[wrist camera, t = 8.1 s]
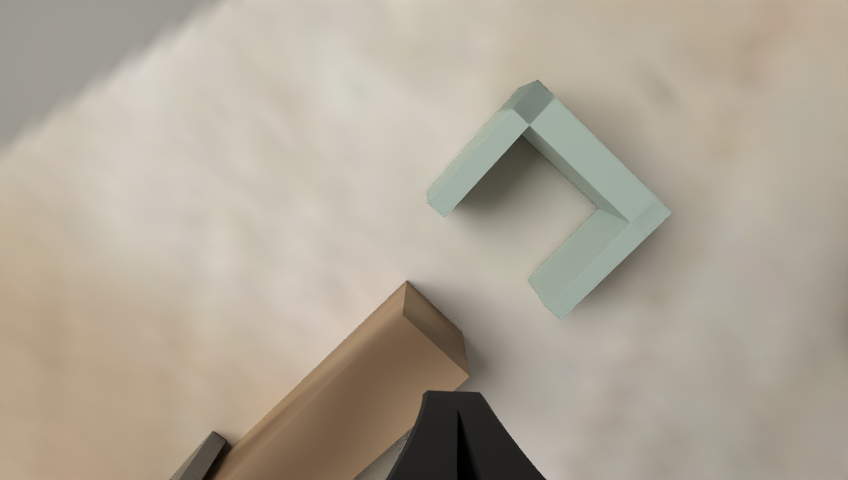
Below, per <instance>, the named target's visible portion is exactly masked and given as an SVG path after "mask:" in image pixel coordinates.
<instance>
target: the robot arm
mask: <svg viewBox="0 0 848 480" xmlns="http://www.w3.org/2000/svg"><path fill="white" fill-rule="evenodd" d="M386 480H546V479H545V478H544V477H543V475H542V474H541V473H540V472H539V471H538V470H537V469H536V467H535V466H534V465H533V464H532V463H531V461H530V460H529V459H528V458H527V457H526V455H525V454H524V453H523V452H522V450H521V449H520V448H519V446H518V445H517V444H516V443H515V441H514V440H513V439H512V437H511V436H510V435H509V433H508V432H507V431H506V429H505V428H504V427H503V425H502V424H501V422H500V421H499V419H498V418H497V417H496V415H495V414H494V412H493V411H492V409H491V408H490V406H489V405H488V403H487V401H486V400H485V398H484V397H483V396H482V395H481V393H480V392H457V391H434V390H427V391H426V392H425V393H424V394H423V397H422V403H421V408H420V411H419V414H418V417H417V419H416V422H415V425H414V427H413V429H412V431H411V433H410V436H409V438H408V440H407V442H406V444H405V446H404V448H403V450H402V452H401V454H400V456H399V457H398V459H397V461H396V463H395V464H394V466H393V468H392V470H391V472H390V473H389V475H388V477H387V478H386Z"/></svg>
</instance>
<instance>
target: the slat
mask: <svg viewBox="0 0 848 480" xmlns="http://www.w3.org/2000/svg"><path fill="white" fill-rule="evenodd" d="M469 377H470V374H469V368H468V363H467V357H466V352H465V346H464V341H463V335H462V332H461V331H460V330H459V329H458V328H457V327H456V326H455V325H454V324H453V323H452V322H451V321H450V320H448V319H447V318H446V317H445V316H444V315H443V314H442V313H441V312H440V311H439V310H438V309H437V308H436V307H435V306H434V305H432V304H431V303H430V302H429V301H428V300H427V299H426V298H425V297H424V296H423V295H422V294H421V293H420V292H419V291H417V290H416V289H415V288H414V287H413V286H412V285H411V284H410V283H409V282H408V281H407V280H406V281H405V282H404V283H403V284H402V285H401V286H400V287H399V288H398V289H397V290H396V291H395V292H394V293H393V294H392V295H391V296H390V297H389V298H388V299H387V300H386V301H385V302H384V303H383V304H381V305H380V306H379V307H378V308H377V309H376V310H375V311H374V312H373V313H372V314H371V315H370V316H369V317H368V318H367V319H366V320H365V321H364V322H363V323H362V324H361V325H360V326H359V327H358V328H356V329H355V330H354V331H353V332H352V333H351V334H350V335H349V336H348V337H347V338H346V339H345V340H344V341H343V342H342V343H341V344H340V345H339V346H338V347H337V348H336V349H335V350H334V351H333V352H331V353H330V354H329V355H328V356H327V357H326V358H325V359H324V360H323V361H322V362H321V363H320V364H319V365H318V366H317V367H316V368H315V369H314V370H313V371H312V372H311V373H310V374H309V375H308V376H306V377H305V378H304V379H303V380H302V381H301V382H300V383H299V384H298V385H297V386H296V387H295V388H294V389H293V390H292V391H291V392H290V393H289V394H288V395H287V396H286V397H285V398H284V399H283V400H281V401H280V402H279V403H278V404H277V405H276V406H275V407H274V408H273V409H272V410H271V411H270V412H269V413H268V414H267V415H266V416H265V417H264V418H263V419H262V420H261V421H260V422H259V423H258V424H257V425H255V426H254V427H253V428H252V429H251V430H250V431H249V432H248V433H247V434H246V435H245V436H244V437H243V438H242V439H241V440H240V441H239V442H238V443H237V444H236V445H235V446H234V447H233V448H232V449H230V450H229V451H228V452H227V453H226V454H225V455H224V456H223V457H222V458H221V459H220V460H219V461H218V462H217V463H216V464H215V465H214V466H213V467H212V468H211V469H210V470H209V471H208V472H207V474H206V475H205V477H204V478H203V480H353V479H354V478H355V477H356V476H357V475H358V474H359V473H361V472H362V471H363V470H364V469H365V468H366V467H367V466H369V465H370V464H371V463H372V462H373V461H374V460H375V459H377V458H378V457H379V456H380V455H381V454H382V453H383V452H385V451H386V450H387V449H388V448H389V447H390V446H391V445H393V444H394V443H395V442H396V441H397V440H398V439H399V438H401V437H402V436H403V435H404V434H405V433H406V432H407V431H409V430H410V429H411V428H412V427H413V426H414V425H415V422H416V419H417V417H418V414H419V411H420V408H421V403H422V397H423V394H424V393H425V392H426V391H427V390H434V391H454V390H455V389H456V388H458V387H459V386H460V385H461V384H462V383H463V382H464V381H466V380H467V379H468V378H469Z"/></svg>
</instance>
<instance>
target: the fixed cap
mask: <svg viewBox="0 0 848 480" xmlns="http://www.w3.org/2000/svg"><path fill="white" fill-rule="evenodd" d="M225 442H226V440H224V439H223V438H221V437H220V436H218V435H217V434H216V433H214V432H213V431H212V433H211V434H210V435H209V436H208V437H207V438H206V439H205V440H204V441H203V443H202V444H201V445H200V446H199V447H198V448H197V449H196V450H195V452H194V453H193V454H192V455H191V456H190V457H189V458H188V459H187V461H186V462H185V463H184V464H183V465H182V466H181V467H180V468H179V470H178V471H177V472H176V473H175V474H174V475H173V476H172V477H171V479H170V480H202V478H203V477H204V475H205V473H206V472H207V470H208V469H209V467H210V466H211V464H212V462H213V461H214V459H215V458H216V456H217V455H218V453H219V451H220V450H221V448H222V447H223V445H224V444H225Z"/></svg>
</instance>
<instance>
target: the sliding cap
mask: <svg viewBox="0 0 848 480" xmlns="http://www.w3.org/2000/svg"><path fill="white" fill-rule="evenodd" d="M520 135H522V136H523V137H524V138H526V139H527V140H528V141H529V142H530V143H531V144H532V145H533V146H534V147H535V148H536V149H537V150H538V151H539V152H540V153H541V154H542V155H543V156H544V157H545V158H546V159H548V160H549V161H550V162H551V163H552V164H553V165H554V166H555V167H556V168H557V169H558V170H559V171H560V172H561V173H562V174H563V175H564V176H565V177H566V178H567V179H568V180H569V181H571V182H572V183H573V184H574V185H575V186H576V187H577V188H578V189H579V190H580V191H581V192H582V193H583V194H584V195H585V196H586V197H587V198H588V199H589V200H590V201H591V202H593V203H594V204H595V205H596V206H597V207H598V209H597V210H596V211H595V212H594V213H593V214H592V215H591V216H590V217H589V218H588V219H587V220H586V221H585V222H584V223H583V224H582V225H581V226H580V227H579V228H578V229H577V230H576V231H575V232H574V233H573V234H572V235H571V236H570V237H569V238H568V239H567V240H566V241H565V242H564V243H563V244H562V245H561V246H560V247H559V248H558V249H557V250H556V251H555V252H554V253H553V254H552V255H551V256H550V257H549V258H548V259H547V260H546V261H545V262H544V263H543V264H542V265H541V266H540V267H539V268H538V269H537V270H536V271H535V272H534V273H533V274H532V275H531V276H530V277H529V278H528V279H527V280H528V282H529V283H530V285H531V286H532V288H533V289H534V291H535V292H536V294H537V295H538V297H539V298H540V300H541V301H542V303H543V304H544V306H545V307H546V308H547V309H548V310H550V311H551V312H552V313H553V314H554V315H555V316H556V317H557V318H559V319H560V320H561V319H562V318H563V317H564V316H565V315H567V314H568V313H569V312H570V311H571V310H572V309H573V308H574V307H575V306H576V305H577V304H578V303H579V302H580V301H581V300H582V299H583V298H584V297H585V296H586V295H587V294H588V293H589V292H590V291H591V290H592V289H594V288H595V287H596V286H597V285H598V284H599V283H600V282H601V281H602V280H603V279H604V278H605V277H606V276H607V275H608V274H609V273H610V272H611V271H612V270H613V269H614V268H615V267H616V266H617V265H618V264H619V263H621V262H622V261H623V260H624V259H625V258H626V257H627V256H628V255H629V254H630V253H631V252H632V251H633V250H634V249H635V248H636V247H637V246H638V245H639V244H640V243H641V242H642V241H643V240H644V239H645V238H647V237H648V236H649V235H650V234H651V233H652V232H653V231H654V230H655V229H656V228H657V227H658V226H659V225H660V224H661V223H662V222H663V221H664V220H665V219H666V218H667V217H668V216H669V215H670V214H671V213H672V212H671V211H670V210H669V209H668V208H667V207H666V206H665V205H664V204H663V203H662V202H661V201H660V200H659V199H658V198H657V197H656V196H655V195H654V194H653V193H652V192H651V191H650V190H649V189H648V188H647V187H646V186H645V185H644V184H643V183H642V182H641V181H640V180H639V179H638V178H637V177H636V176H635V175H634V174H633V173H632V172H631V171H630V170H629V169H628V168H627V167H626V166H625V165H624V164H623V163H622V162H621V161H620V160H619V159H618V158H617V157H615V156H614V155H613V154H612V153H611V152H610V151H609V150H608V149H607V148H606V147H605V146H604V145H603V144H602V143H601V142H600V141H599V140H598V139H597V138H596V137H595V136H594V135H593V134H592V133H591V132H590V131H589V130H588V129H587V128H586V127H585V126H584V125H583V124H582V123H581V122H580V121H579V120H578V119H577V118H576V117H575V116H574V115H573V114H572V113H571V112H570V111H569V110H568V109H567V108H566V107H565V106H564V105H563V104H562V103H561V102H560V101H559V100H558V99H557V98H556V97H555V96H554V95H553V94H552V93H551V92H550V91H549V90H548V89H547V88H546V87H545V86H544V85H543V84H542V83H541V82H540V81H539V80H536V81H534V82H532V83H529V84H527V85H525V86H522V87H520V88H518V90H517V91H516V92H515V93H514V94H513V95H512V96H511V97H510V99H509V100H508V101H507V102H506V103H505V104H504V105H503V106H502V108H501V109H500V110H499V111H498V112H497V113H496V114H495V115H494V117H493V118H492V119H491V120H490V121H489V122H488V123H487V124H486V126H485V127H484V128H483V129H482V130H481V131H480V132H479V133H478V134H477V136H476V137H475V138H474V139H473V140H472V141H471V142H470V143H469V145H468V146H467V147H466V148H465V149H464V150H463V151H462V152H461V154H460V155H459V156H458V157H457V158H456V159H455V160H454V161H453V163H452V164H451V165H450V166H449V167H448V168H447V169H446V170H445V172H444V173H443V174H442V175H441V176H440V177H439V178H438V179H437V181H436V182H435V183H434V184H433V185H432V186H431V187H430V188H429V190H428V191H427V203H428V204H429V205H430V206H431V207H432V208H433V209H435V210H436V211H437V212H438V213H439V214H440V215H441V216H443V217H444V218H445V217H446V216H447V215H448V214H449V213H450V212H451V211H452V209H453V208H454V207H455V206H456V205H457V204H458V203H459V202H460V201H461V200H462V199H463V197H464V196H465V195H466V194H467V193H468V192H469V191H470V190H471V189H472V188H473V186H474V185H475V184H476V183H477V182H478V181H479V180H480V179H481V178H482V177H483V176H484V174H485V173H486V172H487V171H488V170H489V169H490V168H491V167H492V166H493V165H494V164H495V162H496V161H497V160H498V159H499V158H500V157H501V156H502V155H503V154H504V153H505V151H506V150H507V149H508V148H509V147H510V146H511V145H512V144H513V143H514V142H515V141H516V139H517V138H518V137H519V136H520Z"/></svg>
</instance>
